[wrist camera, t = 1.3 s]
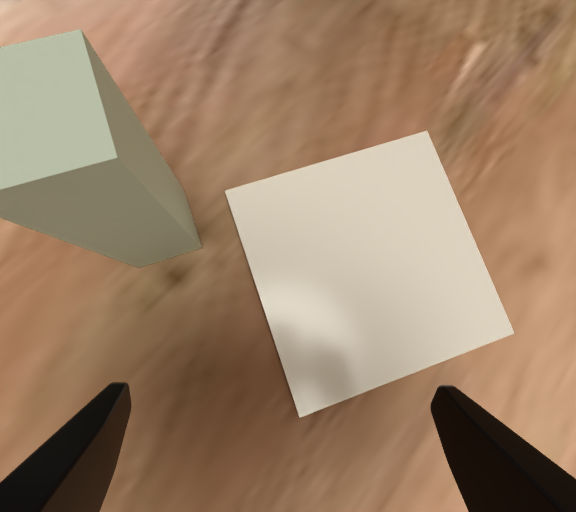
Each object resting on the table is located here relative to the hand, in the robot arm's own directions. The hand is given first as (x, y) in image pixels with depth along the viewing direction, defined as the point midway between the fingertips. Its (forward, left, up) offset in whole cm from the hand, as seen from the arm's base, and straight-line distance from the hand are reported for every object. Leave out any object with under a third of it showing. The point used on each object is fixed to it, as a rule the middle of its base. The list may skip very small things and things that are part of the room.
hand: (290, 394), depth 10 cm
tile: (+8, +3, -13) cm, 16 cm away
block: (-5, +10, -13) cm, 18 cm away
